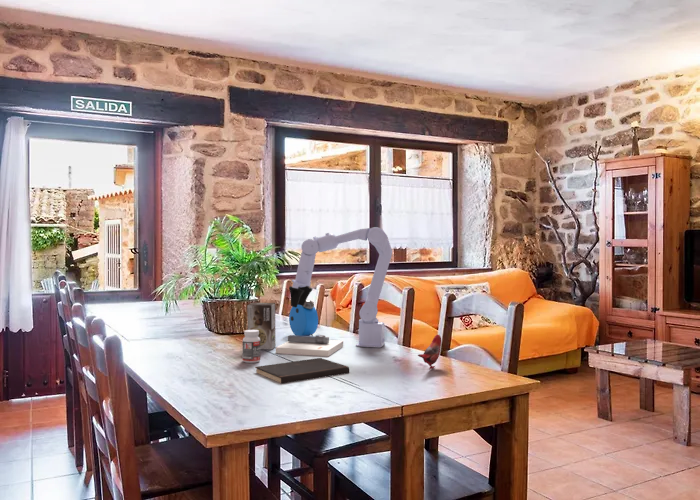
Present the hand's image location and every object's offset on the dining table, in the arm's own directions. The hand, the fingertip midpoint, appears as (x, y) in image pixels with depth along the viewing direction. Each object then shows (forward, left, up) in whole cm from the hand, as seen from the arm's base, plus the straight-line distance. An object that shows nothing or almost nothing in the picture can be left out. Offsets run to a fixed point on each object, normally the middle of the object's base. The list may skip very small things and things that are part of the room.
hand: (297, 305), depth 220 cm
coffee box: (+9, +11, -15) cm, 21 cm away
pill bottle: (+3, +33, -15) cm, 37 cm away
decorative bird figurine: (-54, +29, -14) cm, 63 cm away
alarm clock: (+3, -17, -15) cm, 22 cm away
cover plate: (-9, +9, -14) cm, 19 cm away
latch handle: (-7, +7, -12) cm, 16 cm away
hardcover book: (-18, +43, -15) cm, 49 cm away
